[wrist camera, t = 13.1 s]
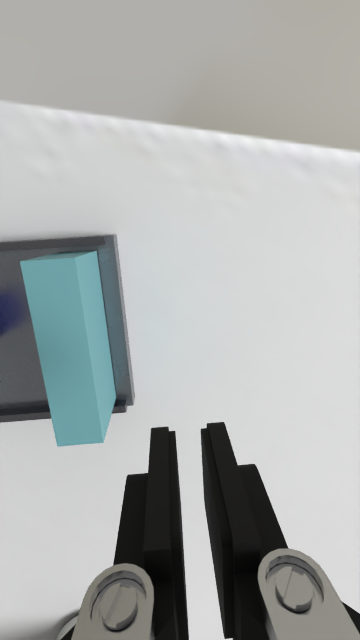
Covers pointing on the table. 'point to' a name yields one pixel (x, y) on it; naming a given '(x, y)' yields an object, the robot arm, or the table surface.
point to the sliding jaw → (72, 343)
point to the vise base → (18, 334)
